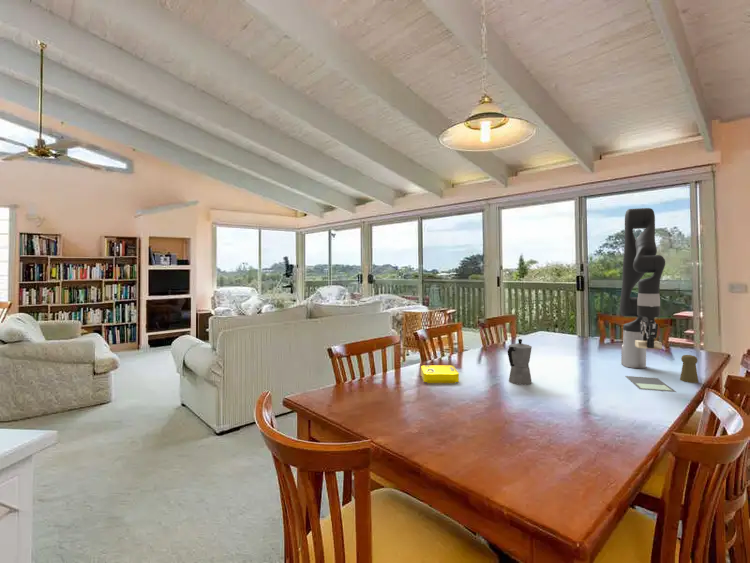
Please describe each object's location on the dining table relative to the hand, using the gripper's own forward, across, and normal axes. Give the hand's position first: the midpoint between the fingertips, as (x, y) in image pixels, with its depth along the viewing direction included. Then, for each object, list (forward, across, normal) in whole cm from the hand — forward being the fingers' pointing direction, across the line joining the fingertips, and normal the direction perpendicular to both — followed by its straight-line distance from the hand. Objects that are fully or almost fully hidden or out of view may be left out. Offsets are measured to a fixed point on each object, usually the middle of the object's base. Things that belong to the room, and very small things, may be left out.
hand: (648, 346), depth 158 cm
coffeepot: (+16, +12, -50) cm, 53 cm away
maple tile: (0, 0, 0) cm, 0 cm away
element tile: (+16, +16, -82) cm, 85 cm away
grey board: (+15, 0, 0) cm, 15 cm away
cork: (+16, -9, +17) cm, 25 cm away
